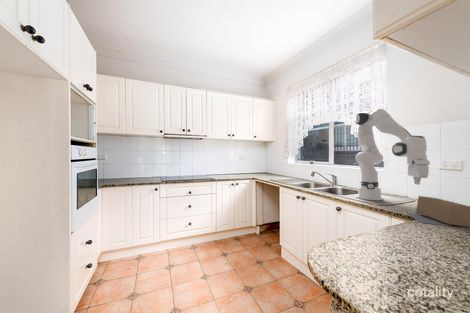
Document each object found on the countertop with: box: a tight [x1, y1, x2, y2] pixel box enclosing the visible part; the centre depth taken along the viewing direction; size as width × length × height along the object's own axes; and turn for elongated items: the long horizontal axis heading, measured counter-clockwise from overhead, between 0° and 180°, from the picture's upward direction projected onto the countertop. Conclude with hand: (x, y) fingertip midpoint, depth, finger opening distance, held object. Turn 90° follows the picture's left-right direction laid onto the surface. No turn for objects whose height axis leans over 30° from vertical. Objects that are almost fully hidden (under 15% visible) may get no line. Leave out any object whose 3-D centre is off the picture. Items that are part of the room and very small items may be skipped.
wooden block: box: [415, 195, 470, 228], centre depth 104 cm, size 10×10×20 cm
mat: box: [407, 213, 453, 227], centre depth 106 cm, size 18×12×1 cm, turn 153°
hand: (417, 184), depth 119 cm, fingers closed
